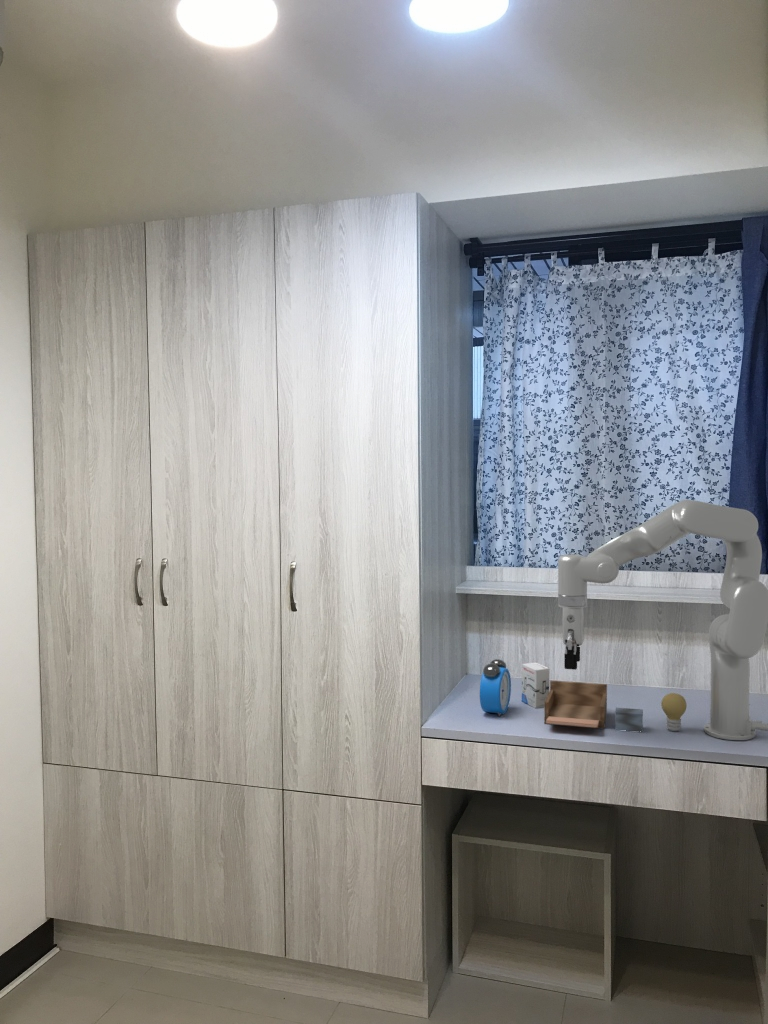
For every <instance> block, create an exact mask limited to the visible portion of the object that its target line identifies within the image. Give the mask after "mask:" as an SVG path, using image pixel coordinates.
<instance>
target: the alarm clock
mask: <svg viewBox="0 0 768 1024" xmlns="http://www.w3.org/2000/svg"><path fill="white" fill-rule="evenodd" d="M511 679H512V678H511V674H510V670H509V669H508V668H507V664H506V662H505V661H504V660H502V659H500V658H496V659H493V660H491V661H490V663H488V664H486V665H485V666H484V667H483V670H482V674H481V678H480V683H479V704H480V707H481V710H482V712H484V713H492V714H498V717H499V716H501V714H502V715H504V714H505V713H506V712H507V710H508V708H509V705H510V701H511V693H512V683H511V681H512V680H511Z"/></svg>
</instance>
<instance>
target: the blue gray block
mask: <svg viewBox="0 0 768 1024" xmlns="http://www.w3.org/2000/svg"><path fill="white" fill-rule="evenodd" d="M614 713H615V714H614V716H615V720H614V721H615V731H618V730H626V731H625V732H630V731H639V732H638V733H642V732H643V731H644V730H643V729H644V728H643V723H644V720H643V717H644V709H642V708H630V707H615V711H614ZM640 731H641V732H640Z"/></svg>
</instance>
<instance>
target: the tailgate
mask: <svg viewBox="0 0 768 1024" xmlns="http://www.w3.org/2000/svg"><path fill="white" fill-rule="evenodd" d="M546 723H549V724H548V725H552V724H561V725H560V726H564V725H573V726H572V727H576V726H585V727H584V728H588V727H598V724H599V720H588V719H576V718H563V717H551V716H549V717H548V718H547V720H546Z"/></svg>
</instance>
